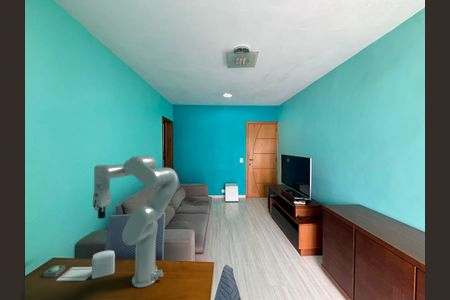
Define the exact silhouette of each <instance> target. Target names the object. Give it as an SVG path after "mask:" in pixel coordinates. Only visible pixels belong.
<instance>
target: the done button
mask: <svg viewBox="0 0 450 300" xmlns="http://www.w3.org/2000/svg"><path fill="white" fill-rule="evenodd" d="M52 267H53V266H52ZM50 268H51V267H50ZM50 268H49V269H50ZM58 269H59V266H55V267H53V268H51V269H50V272H55V271H57V270H58Z"/></svg>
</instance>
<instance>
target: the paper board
mask: <svg viewBox="0 0 450 300" xmlns="http://www.w3.org/2000/svg"><path fill="white" fill-rule="evenodd" d="M91 276H92V266H76V267H75V266H74V267H73V266H72V267H70V268H69V269H68V270H67V271H66V272H65V273H63V274H62V275H61V276H59V277H58V278H57V279H56V282H81V281H86V280H87V279H88V278H89V277H91Z"/></svg>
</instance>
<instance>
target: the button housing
mask: <svg viewBox="0 0 450 300" xmlns="http://www.w3.org/2000/svg"><path fill="white" fill-rule="evenodd" d="M55 266H59V269H58V270H57V271H55V272H50V269H51V268H53V267H55ZM65 270H66V265H65V264H64V265H63V264H62V265H52V266H51V267H50V268H48V269H47V270H45V271H44V272H43V278H56V277H58V275H60V274H61V273H62V272H64V271H65Z"/></svg>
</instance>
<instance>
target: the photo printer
mask: <svg viewBox="0 0 450 300" xmlns="http://www.w3.org/2000/svg"><path fill="white" fill-rule="evenodd" d="M115 253H116V252H115V251H114V250H103V251H100V252H99V251H98V252H96V253H94V254H93V255H92V259H91V267H92V274H91V279H92V280H93V279H98V278H102V277H107V276H110V275H111V276H112V275H113V274H114V273H115V271H116V270H115V267H116V263H115V259H116V254H115Z"/></svg>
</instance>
